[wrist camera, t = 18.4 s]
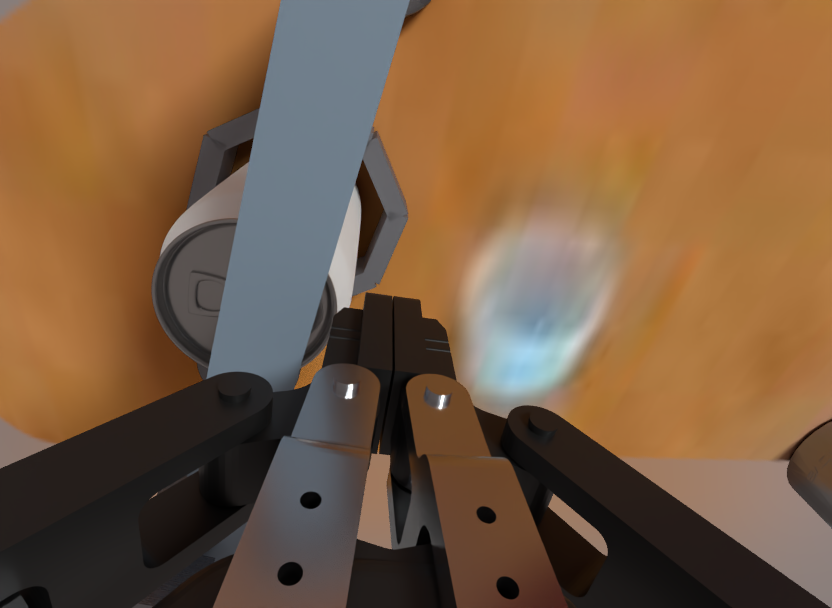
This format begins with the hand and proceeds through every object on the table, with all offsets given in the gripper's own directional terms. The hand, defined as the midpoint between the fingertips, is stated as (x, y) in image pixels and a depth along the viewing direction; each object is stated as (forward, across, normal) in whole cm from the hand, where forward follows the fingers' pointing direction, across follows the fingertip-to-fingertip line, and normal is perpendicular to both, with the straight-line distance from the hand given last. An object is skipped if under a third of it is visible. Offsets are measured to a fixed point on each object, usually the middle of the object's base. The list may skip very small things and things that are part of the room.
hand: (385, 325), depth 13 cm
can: (+14, +4, +1) cm, 15 cm away
